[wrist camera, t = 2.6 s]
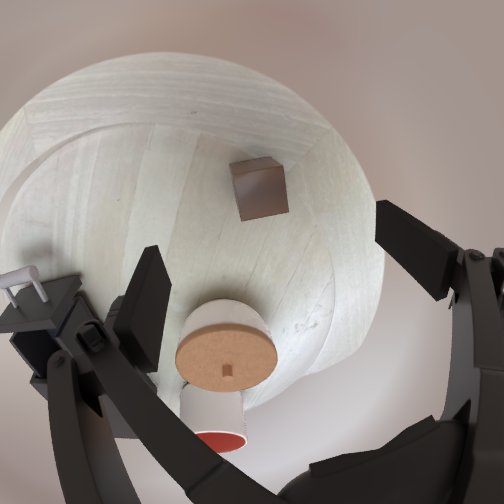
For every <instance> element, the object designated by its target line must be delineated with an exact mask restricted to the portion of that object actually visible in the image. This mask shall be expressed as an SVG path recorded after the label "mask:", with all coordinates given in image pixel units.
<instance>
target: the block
mask: <svg viewBox="0 0 504 504" xmlns="http://www.w3.org/2000/svg"><path fill="white" fill-rule="evenodd" d="M229 166H230V172H231V177H232V182H233V187H234V192H235V197H236V202H237V206H238V210H239V214H240V218H241V221H247V220H252V219H257V218H262V217H267V216H272V215H277V214H282V213H287V212H289V208H288V200H287V192H286V185H285V177H284V170H283V166H282V165H281V164H280V163H278V162H277V161H276V160H274V159H273V158H272V157H265V158H259V159H253V160H248V161H243V162H237V163H232V164H229Z"/></svg>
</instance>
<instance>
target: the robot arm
mask: <svg viewBox="0 0 504 504" xmlns="http://www.w3.org/2000/svg"><path fill="white" fill-rule="evenodd" d="M375 242H376V243H378V244H379V245H380V246H381V247H382V248H383V249H384V250H385V251H386V252H387V253H388V254H389V255H391V256H392V257H393V258H394V259H395V260H396V261H397V262H398V263H399V264H400V265H401V266H402V267H403V268H404V269H405V270H406V271H407V272H408V273H409V274H410V275H411V276H412V277H413V278H414V279H415V280H417V282H418V283H419V284H420V285H421V286H422V287H423V288H424V289H425V290H426V291H427V292H428V293H429V294H430V295H431V296H432V297H433V298H434V299H435V300H436V301H439V300H441V299H444V298H446V297H447V295H448V291H449V288H450V287H451V288H452V289H453V290H454V293H453V296H452V299H451V302H450V305H449V308H448V309H450V308H451V306H452V311H453V314H452V316H453V318H452V319H453V320H452V322H453V323H452V324H453V325H452V348H451V362H450V372H449V381H448V388H447V395H446V402H445V407H444V411H443V414H442V416H441V418H440V420H436V421H435V420H434V418H433V416H432V415H430V416H429V417H427V418H425V419H424V420H421V421H419V422H418V423H416V424H414V425H412V426H410V427H408V428H406V429H405V430H403V431H402V432H401V433H400V434H399V435H397V436H396V437H395V438H393V439H392V440H391V441H389V442H388V443H387V444H385V445H384V446H383V447H381V448H379V449H376V450H370V451H364V452H357V453H348V454H342V455H339V456H336V457H332V458H329V459H326V460H322V461H319V462H315V463H311V464H309V470H308V471H306V472H304V473H302V474H300V475H299V476H297V477H296V478H294V479H293V480H292V481H290V482H289V483H288V484H287V485H286V486H285V487H284V488H282V490H281V491H280V492H279V493H278V494H277V495H275V494H273V493H272V492H270V491H269V490H267V489H266V488H264V487H263V486H261V485H260V484H258V483H257V482H256V481H254V480H253V479H251V478H250V477H249V476H247V475H246V474H244V473H243V472H242V471H241V470H239V469H238V468H237V467H235V466H234V465H233V464H231V463H230V462H229V461H227V460H225V459H224V458H222V457H221V456H220V455H219V454H217V453H216V452H215V451H214V450H213V449H211V448H210V447H209V446H208V445H207V444H206V443H205V442H204V441H202V440H201V439H200V438H199V437H198V436H197V435H196V434H195V433H194V432H193V431H192V430H190V429H189V428H188V427H187V426H186V425H185V424H184V423H183V422H182V421H181V420H180V419H179V418H178V417H177V416H176V415H175V414H174V413H173V412H172V411H171V410H170V409H169V408H168V407H167V406H166V405H165V403H164V402H163V401H162V400H161V399H160V398H159V397H158V396H157V395H156V394H155V393H154V391H153V390H152V389H151V388H150V387H149V386H148V385H147V384H146V382H145V381H144V380H143V379H142V378H141V376H140V375H139V374H138V373H137V372H136V370H135V367H136V366H137V368H138V369H139V370H140V372H141V373H150V372H157V370H158V363H159V356H160V349H161V342H162V336H163V330H164V324H165V318H166V312H167V307H168V301H169V296H170V291H171V286H172V284H171V281H170V279H169V276H168V273H167V271H166V268H165V265H164V262H163V260H162V257H161V254H160V251H159V248H158V245H154V246H150V247H145V249H144V251H143V253H142V255H141V258H140V260H139V262H138V264H137V267H136V269H135V271H134V274H133V276H132V278H131V281H130V283H129V286H128V288H127V290H126V293H125V295H123V296H118V297H117V298H116V300H115V301H114V302H113V303H112V305H111V307H110V310H109V312H108V315H107V318H106V320H105V322H104V325H102V324H101V322H100V321H99V320H96V319H92V320H88V321H86V322H84V323H82V324H81V325H80V326H79V327H78V328H77V329H76V331H75V334H74V339H75V341H76V342H77V344H78V345H79V346H80V348H81V349H82V351H83V353H80V354H77V355H74V356H72V355H71V354H70V353H69V351H67V350H64V349H62V350H58V351H57V352H55V353H53V355H51V357H50V358H49V360H48V363H47V394H48V410H49V421H50V430H51V437H52V444H53V451H54V456H55V461H56V466H57V471H58V476H59V479H60V484H61V488H62V491H63V495H64V498H65V502H66V504H141V502H140V500H139V498H138V496H137V494H136V492H135V489H134V487H133V485H132V483H131V480H130V478H129V476H128V473H127V471H126V468H125V466H124V464H123V461H122V458H121V456H120V453H119V450H118V448H117V445H116V442H115V439H114V436H113V433H112V430H111V426H110V423H109V420H108V416H107V413H106V409H105V406H104V402H103V398H102V395H105V394H108V395H109V397H110V398H111V400H112V401H113V403H114V404H115V406H116V407H117V409H118V410H119V412H120V413H121V415H122V416H123V418H124V419H125V421H126V422H127V423H128V425H129V426H130V427H131V429H132V430H133V432H134V433H135V434H136V436H137V437H138V438H139V439H140V441H141V442H142V443H143V445H144V446H145V447H146V448H147V449H148V451H149V452H150V453H151V454H152V456H153V457H154V458H155V459H156V460H157V461H158V463H159V464H160V465H161V466H162V467H163V468H164V469H165V470H166V471H167V473H168V474H169V475H170V476H171V477H172V478H173V479H174V480H175V481H176V482H177V483H178V484H179V485H180V486H181V487H182V488H183V490H184V491H185V494H186V496H187V497H188V498H189V499H190V500H191V501H192V502H193V503H194V504H504V293H503V288H504V248H495V249H494V252H493V256H492V257H485V255H484V254H483V253H481V252H479V251H478V250H474V249H468V250H466V251H465V250H463V249H462V248H461V247H459V246H458V245H457V244H455V243H454V242H452V241H450V239H448V238H447V237H445V236H444V235H443V234H441V233H440V232H438V231H435V230H433V229H431V228H430V227H428V226H427V225H426V224H424V223H423V222H421V221H420V220H418V219H417V218H415V217H413V216H412V215H410V214H409V213H407V212H406V211H404V210H402V209H401V208H399V207H398V206H396V205H394V204H393V203H391V202H389V201H388V200H381V201H376V231H375Z"/></svg>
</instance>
